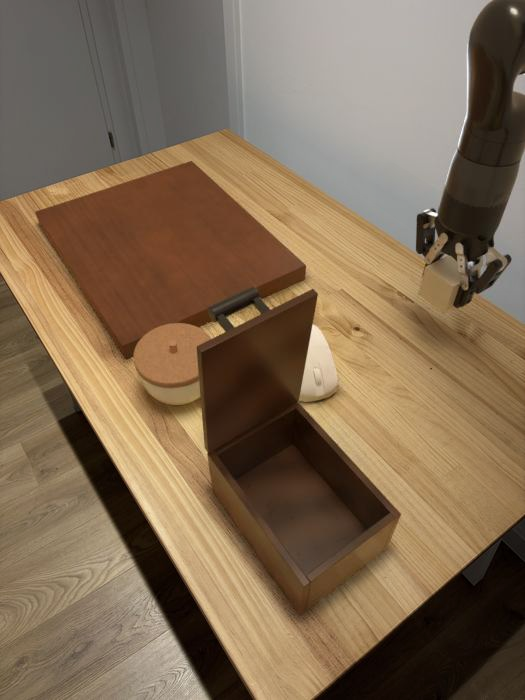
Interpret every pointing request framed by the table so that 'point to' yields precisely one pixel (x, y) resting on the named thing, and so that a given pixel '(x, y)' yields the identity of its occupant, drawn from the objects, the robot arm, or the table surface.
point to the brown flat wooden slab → (164, 251)
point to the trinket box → (170, 362)
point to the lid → (252, 364)
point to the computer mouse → (318, 370)
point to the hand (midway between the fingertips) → (444, 293)
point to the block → (441, 283)
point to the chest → (301, 504)
